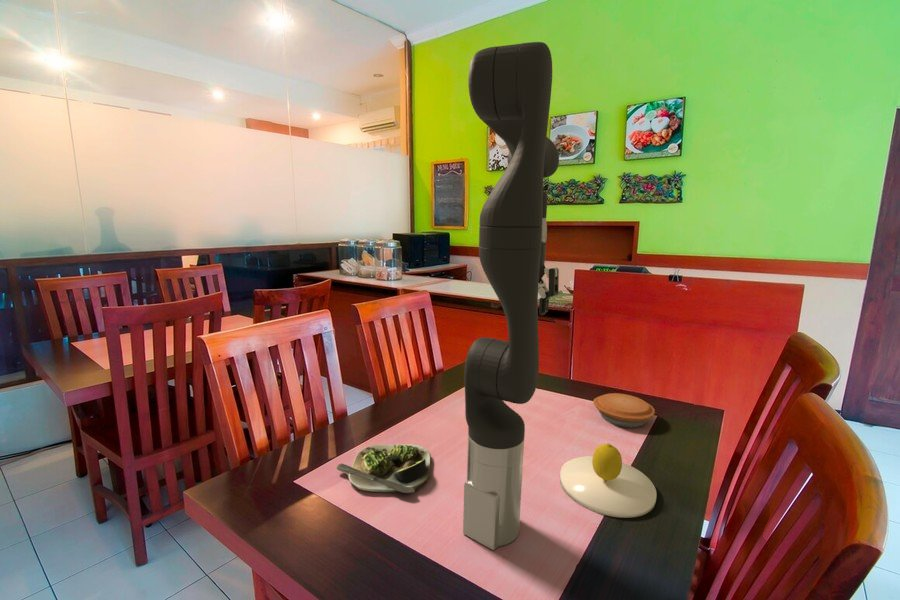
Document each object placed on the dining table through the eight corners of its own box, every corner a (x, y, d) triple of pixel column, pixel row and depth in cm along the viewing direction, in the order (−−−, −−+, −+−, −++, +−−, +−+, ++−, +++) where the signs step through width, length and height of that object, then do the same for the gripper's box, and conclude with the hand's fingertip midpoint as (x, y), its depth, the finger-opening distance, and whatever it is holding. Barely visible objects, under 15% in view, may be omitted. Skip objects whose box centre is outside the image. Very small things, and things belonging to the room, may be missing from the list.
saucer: (643, 532, 71) (644, 526, 71) (545, 490, 82) (545, 485, 81) (664, 482, 85) (665, 476, 85) (578, 452, 96) (579, 447, 95)
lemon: (622, 491, 80) (626, 453, 79) (592, 486, 81) (596, 449, 80) (617, 474, 85) (620, 438, 84) (589, 470, 86) (592, 435, 85)
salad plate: (325, 499, 78) (324, 477, 78) (348, 449, 96) (348, 430, 95) (427, 502, 78) (427, 480, 77) (432, 451, 96) (432, 432, 95)
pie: (665, 422, 112) (667, 404, 111) (632, 437, 103) (634, 419, 102) (614, 401, 124) (616, 385, 123) (581, 414, 115) (582, 397, 115)
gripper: (491, 238, 92) (489, 309, 95) (552, 241, 83) (547, 319, 86) (508, 237, 98) (505, 305, 101) (566, 240, 89) (561, 313, 92)
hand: (524, 311), depth 94 cm, fingers open, 8 cm apart
